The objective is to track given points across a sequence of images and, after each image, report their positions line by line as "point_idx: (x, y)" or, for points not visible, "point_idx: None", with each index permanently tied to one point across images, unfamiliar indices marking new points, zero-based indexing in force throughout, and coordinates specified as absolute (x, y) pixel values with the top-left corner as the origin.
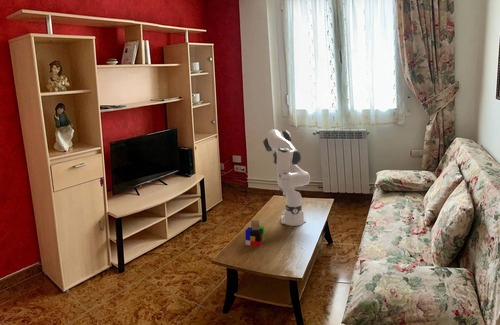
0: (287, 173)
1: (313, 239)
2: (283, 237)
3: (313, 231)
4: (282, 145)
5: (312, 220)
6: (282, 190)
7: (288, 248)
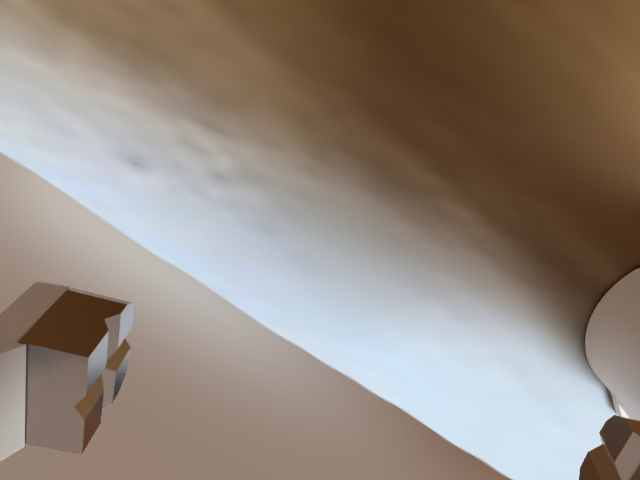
0: None
1: (272, 315)
2: (407, 105)
3: (415, 381)
4: None
5: None
6: (596, 468)
7: (159, 45)
